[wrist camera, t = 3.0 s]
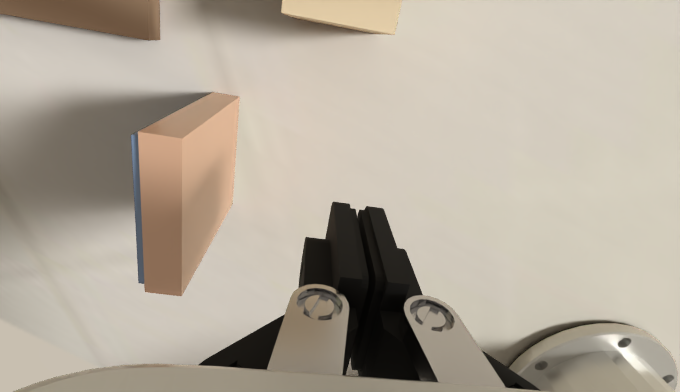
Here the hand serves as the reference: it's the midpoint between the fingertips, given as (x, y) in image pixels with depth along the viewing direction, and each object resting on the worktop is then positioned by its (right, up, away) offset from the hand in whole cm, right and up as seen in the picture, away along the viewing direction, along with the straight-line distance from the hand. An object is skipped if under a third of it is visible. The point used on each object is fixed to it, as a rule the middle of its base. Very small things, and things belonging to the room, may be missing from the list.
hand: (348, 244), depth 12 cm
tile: (-7, +4, +7) cm, 11 cm away
